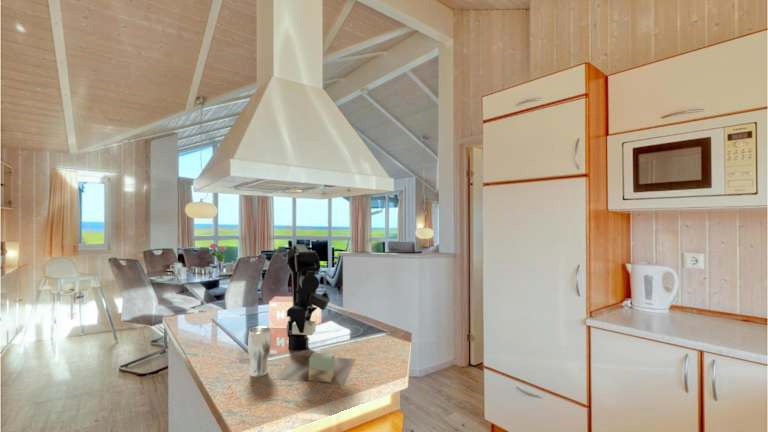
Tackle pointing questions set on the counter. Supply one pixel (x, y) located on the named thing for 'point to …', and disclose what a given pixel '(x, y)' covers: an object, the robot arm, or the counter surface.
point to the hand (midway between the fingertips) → (303, 330)
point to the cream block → (305, 328)
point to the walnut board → (300, 370)
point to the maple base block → (321, 375)
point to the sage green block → (321, 361)
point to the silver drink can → (259, 350)
